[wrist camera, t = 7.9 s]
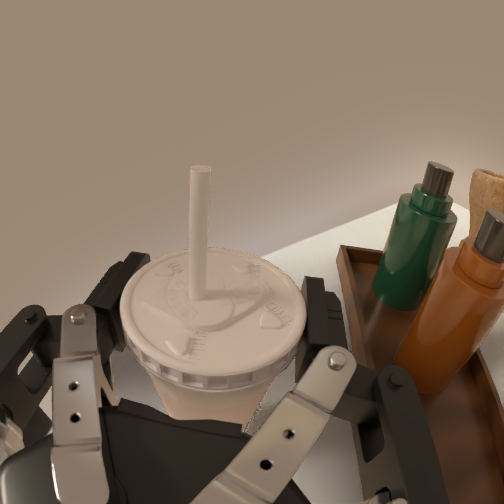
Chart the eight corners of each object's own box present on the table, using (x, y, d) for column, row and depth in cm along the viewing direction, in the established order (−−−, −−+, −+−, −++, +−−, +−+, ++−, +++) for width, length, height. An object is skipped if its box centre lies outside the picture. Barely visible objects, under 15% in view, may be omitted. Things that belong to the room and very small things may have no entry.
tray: (508, 515, 9) (528, 506, 8) (367, 562, 9) (384, 561, 8) (424, 272, 35) (430, 257, 34) (335, 260, 35) (340, 244, 34)
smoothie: (145, 386, 17) (109, 145, 9) (245, 370, 19) (282, 143, 11) (165, 483, 12) (78, 239, 4) (283, 457, 14) (396, 219, 6)
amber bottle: (382, 376, 21) (464, 212, 14) (402, 331, 25) (464, 189, 18) (443, 406, 18) (547, 256, 11) (455, 358, 22) (530, 222, 15)
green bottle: (363, 294, 30) (405, 159, 22) (380, 268, 34) (415, 151, 26) (414, 319, 27) (471, 185, 19) (425, 290, 31) (470, 173, 23)
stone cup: (443, 238, 44) (471, 153, 36) (500, 262, 39) (532, 181, 31) (446, 288, 32) (492, 174, 24) (516, 317, 28) (568, 214, 20)
